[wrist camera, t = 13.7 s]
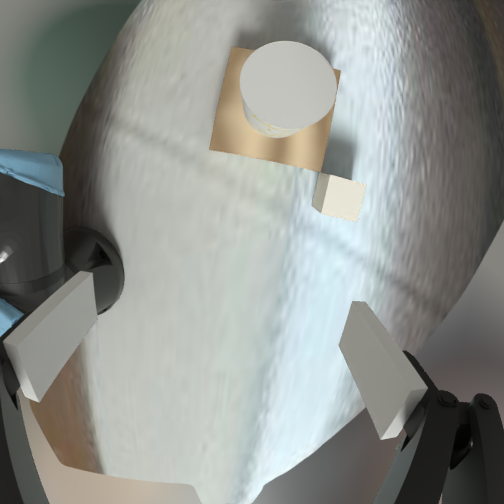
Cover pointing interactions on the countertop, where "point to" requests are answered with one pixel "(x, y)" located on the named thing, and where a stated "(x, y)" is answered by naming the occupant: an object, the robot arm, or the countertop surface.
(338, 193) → the cream block
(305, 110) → the grey cylinder
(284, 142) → the oak block
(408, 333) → the countertop surface
